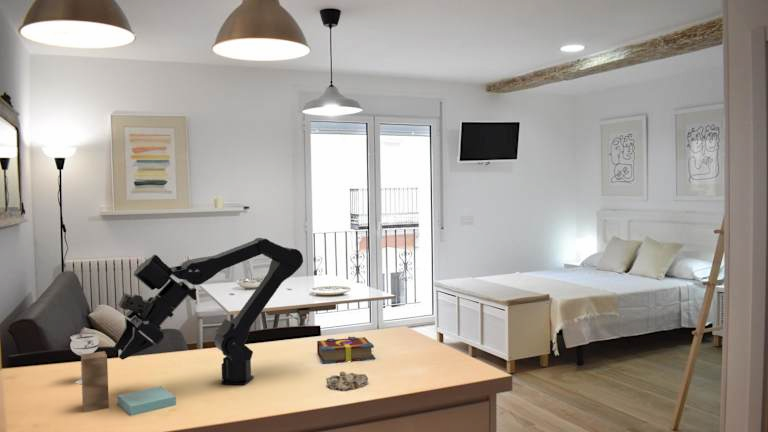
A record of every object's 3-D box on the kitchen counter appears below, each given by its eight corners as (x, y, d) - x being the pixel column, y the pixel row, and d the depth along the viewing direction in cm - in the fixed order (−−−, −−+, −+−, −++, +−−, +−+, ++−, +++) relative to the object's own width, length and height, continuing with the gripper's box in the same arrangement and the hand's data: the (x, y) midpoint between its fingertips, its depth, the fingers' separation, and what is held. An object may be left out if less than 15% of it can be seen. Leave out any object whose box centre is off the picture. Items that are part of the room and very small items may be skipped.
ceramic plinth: (160, 396, 147) (160, 386, 147) (176, 407, 139) (175, 396, 139) (117, 405, 140) (117, 395, 140) (131, 417, 133) (130, 406, 133)
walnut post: (106, 401, 142) (104, 351, 142) (108, 407, 138) (107, 356, 137) (82, 405, 140) (80, 354, 139) (84, 412, 135) (82, 359, 135)
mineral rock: (329, 384, 146) (324, 366, 153) (328, 400, 147) (323, 381, 154) (372, 382, 148) (366, 364, 156) (371, 397, 149) (364, 379, 157)
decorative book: (316, 354, 181) (316, 338, 181) (368, 350, 185) (368, 334, 185) (322, 365, 170) (322, 347, 170) (377, 360, 174) (377, 343, 174)
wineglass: (71, 379, 159) (69, 334, 159) (99, 375, 163) (97, 331, 162) (72, 386, 154) (70, 340, 153) (101, 382, 157) (99, 336, 156)
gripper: (134, 276, 151) (86, 325, 146) (147, 285, 135) (94, 341, 130) (167, 304, 155) (122, 352, 150) (184, 316, 139) (134, 371, 134)
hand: (117, 353), depth 141 cm, fingers open, 9 cm apart
